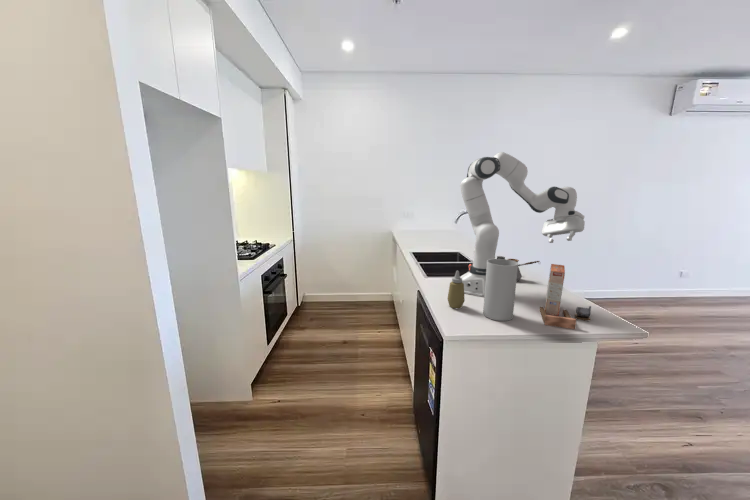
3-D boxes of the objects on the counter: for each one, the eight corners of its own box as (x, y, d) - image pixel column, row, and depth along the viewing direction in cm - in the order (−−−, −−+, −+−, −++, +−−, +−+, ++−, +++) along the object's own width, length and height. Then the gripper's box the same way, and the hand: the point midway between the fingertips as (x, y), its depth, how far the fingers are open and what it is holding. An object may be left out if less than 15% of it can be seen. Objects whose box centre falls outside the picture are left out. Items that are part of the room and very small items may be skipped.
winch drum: (576, 319, 133) (578, 307, 132) (574, 315, 137) (576, 304, 136) (591, 321, 131) (593, 309, 130) (588, 317, 135) (590, 305, 134)
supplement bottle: (506, 276, 197) (507, 258, 194) (494, 275, 198) (496, 257, 195) (503, 273, 203) (505, 255, 201) (493, 272, 204) (494, 255, 202)
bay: (544, 324, 128) (545, 316, 127) (539, 310, 143) (540, 302, 142) (574, 329, 124) (576, 320, 123) (566, 314, 139) (567, 305, 138)
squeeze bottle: (452, 302, 153) (454, 267, 149) (467, 306, 147) (469, 271, 144) (443, 306, 148) (445, 271, 144) (458, 311, 142) (460, 274, 138)
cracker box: (559, 316, 136) (565, 271, 132) (544, 313, 139) (549, 270, 135) (559, 306, 148) (565, 264, 143) (545, 303, 151) (550, 263, 146)
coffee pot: (497, 279, 190) (499, 256, 187) (506, 276, 197) (508, 253, 194) (533, 288, 174) (536, 262, 171) (541, 283, 182) (544, 259, 179)
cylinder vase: (477, 311, 141) (481, 259, 136) (500, 308, 145) (504, 258, 140) (494, 323, 130) (499, 266, 124) (519, 319, 133) (524, 264, 128)
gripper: (541, 218, 165) (536, 241, 162) (580, 210, 147) (576, 236, 144) (548, 222, 167) (544, 245, 164) (588, 215, 149) (584, 241, 146)
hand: (559, 241), depth 154 cm, fingers open, 8 cm apart
